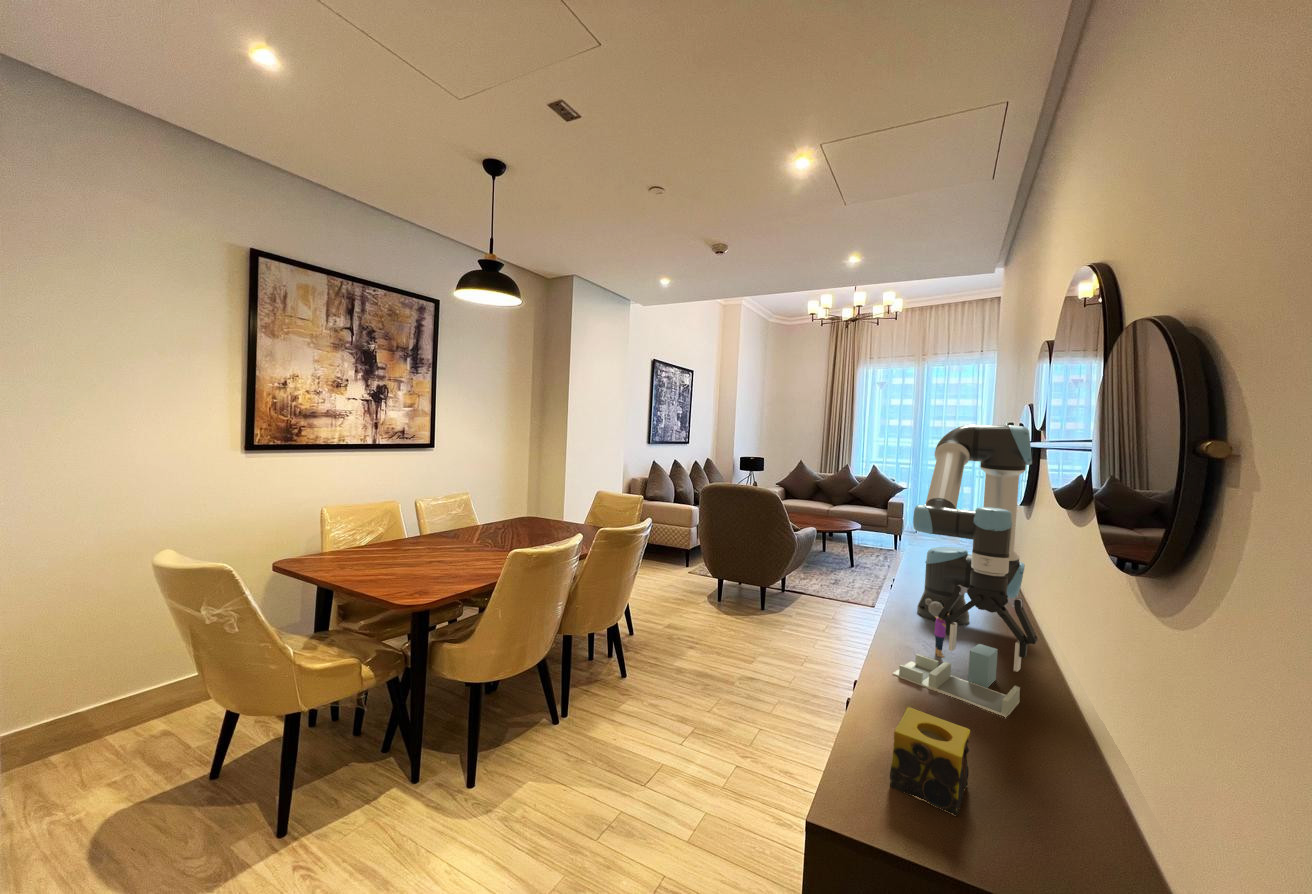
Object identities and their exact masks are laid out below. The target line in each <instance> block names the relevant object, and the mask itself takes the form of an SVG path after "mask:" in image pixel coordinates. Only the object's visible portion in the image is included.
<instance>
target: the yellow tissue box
mask: <svg viewBox="0 0 1312 894" xmlns="http://www.w3.org/2000/svg"><path fill="white" fill-rule="evenodd" d="M970 737H971V729H969V728H968V727H964V726H962V725H959V724H956V723H953V722H951V721H948V720H946V719H942V718H939V717H937V716H934V715H931V714H928V713H926V712H923V711H921V710H918V709H915V708H912V707H911V706H907V707H906V709H905V712H904V714H903V716H902V718H901V720H899V722H898V725H897V726H896V727H895V729H894V733H893V739H894V740H893V750H892V759H891V763H890V764H891V765H890V770H889V780H890V782H889V786H890V787H891V788H893V789H895V790H897V791H899V792H900V793H903V792H905V793H904V794H906V793H908V794H911V795H914V796H917V797H919V798H921V799H924V800H926V801H927V802H929V803H930V804H932V805H934V806H936V807H938V808H941V809H943V810H946V811H948V812H950V813H953V814H954V815H957V816H958V815H959V813H960V810H959V808H960V807H961V808H962V805H961V803H963V801H964V799H963V797H964V796H963V792H964V789H965V788H966V786H967V785H968V786H969V783H968V779H969V773H970V772H969V766H968V765H969V764H968V762H969V760H968V754H969V752H970V749H969V745H968V744H969V739H970ZM966 789H967V788H966ZM964 793H965V792H964ZM908 794H907V795H908ZM962 800H963V801H962ZM961 808H960V809H961ZM941 809H940V810H941ZM958 812H959V813H958Z"/></svg>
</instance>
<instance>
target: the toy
mask: <svg viewBox="0 0 1312 894" xmlns="http://www.w3.org/2000/svg"><path fill="white" fill-rule="evenodd" d="M940 602H942V601H941V600H939V602H936V601H934V602H932V600H931V599H929V598H928V599H926V600H925V603H926V604H927V605H929V606H928V609H929V612H930V613H931V614H932V615H933V616H934V617H935V618H936V621H934V622H935V623H934V632H933V635H934V637H935V638H934V639H935V642H934V643H935V645H934V646H935V652H934V654H935V655H936V657H938V656H940V657H939V658H945V655H944V654H943V646H944V641H945V638H946V623H945V621H944V620H943V619H941V618H939V617H938V615H939V613H940V612H941V610H942V609H943V608H944V603H943V602H942V605H941V604H940ZM947 615H949V613H948V614H947ZM942 654H943V655H942Z"/></svg>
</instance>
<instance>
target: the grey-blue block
mask: <svg viewBox="0 0 1312 894" xmlns="http://www.w3.org/2000/svg"><path fill="white" fill-rule="evenodd" d="M998 652H999V651H998V648H995V647H991V646H988V645H986V644H985V645H984V644H981V643H978V644H977V645H975V646H974V647H973V648H971V649H970V650H969V658H968V660H969V661H968V671H967V672H968V673H967V674H968V675H967V681H969V682H972V683H975V684H978V685H980V686H983V687H985V688H988V687H989V686H990V685H991V684H992V683H993V682H994V681H995V680H997V679H996V677H997V663H998ZM995 682H996V681H995ZM995 682H994V683H995ZM994 683H993V684H994ZM993 684H992V685H993ZM990 687H991V686H990ZM990 687H989V688H990ZM989 688H988V689H989Z"/></svg>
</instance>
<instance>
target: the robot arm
mask: <svg viewBox="0 0 1312 894" xmlns="http://www.w3.org/2000/svg"><path fill="white" fill-rule="evenodd" d="M1030 437H1031V436H1030V430H1029V429H1028V428H1027V427H1026V426H1022V425H1012V424H966V425H965V424H964V425H961V426H959V427H957V428H954V429H952V430H950V431H949V432H948V433H946V434H945V435H944V436H943V437H941V439H940V440H939V441H938V443H937V445H936V447H935V450H934V458H935V465H934V469H933V474H932V476H931V477H932V478H931V480H930V485H929V488H928V493H927V497H926V501H925V504H917V505H915V507H914V510H913V517H912V520H913V521H912V522H913V523H912V524H913V525H912V526H913V529H914V530H915V531H916V532H919V533H925V534H929V535H934V536H935V535H938V536H945V537H951V538H952V537H954V538H960V539H966V540H971V541H972V549H971V554H969V552H968V550H967V549H966V548H962V547H961V548H960V547H956V546H955V547H954V546H953V547H952V546H941V547H933V548H930V549H929V550H928V551H927V553H926V559H925V574H924V575H925V576H924V590H923V593H922V595H921V597H920V600H919V601H918V604H917V610H916V612H917V614H918V615H919V616H920V617H922V618H924V619H927V620H930V621H933V622H936V618H935V617H934V616H933V615H932V614H931V613H930V612H929V609H928V606H929V605H927V604H926V603H925V600H926V599H928V598H929V599H931V600H932V602H934V601H936V602H939V600H941V601H942V602H943V603H944V608H943V609H942V610H941V612H940V613H939V615H938V617H939V618H941V619H943V620H944V621H945V623H946V628H945V636H948V637H949V639H948V651H951V652H953V651H954V650H955V649H957V647H956V646H957V636H958V635H957V634H958V626H963V625H964V624H965V625H968V624H969V623H970V614H969V613H970V612H969V610H971V609H973V608H974V607H976V608H977V609H978V610H980V611H987V612H988V613H996V614H997V615H998V617H1000V618H1001V619H1002V621H1004V623H1005V624H1006V626H1007V628H1008V629H1009V630H1010V631H1011V632H1012V633H1013V635H1014V637H1015V638H1016V639H1017V641H1016V642H1015V645H1014V657H1013V658H1014V659H1013V670H1012V671H1013V672H1019V671H1020V670H1021V666H1022V665H1021V664H1022V659H1025V658H1026V657H1027V656H1028V645H1029V644H1030V645H1035V644H1036V643H1037V642H1038V641H1039V638H1038V636H1037V633H1036V631H1035V629H1034V628H1033V625H1032V623H1031V621H1030V619H1029V617H1028V615H1027V613H1026V610H1025V608H1024V600H1023V598H1021V597H1018V596H1019V592H1020V590H1021V586H1022V582H1023V578H1024V573H1025V563H1024V562H1022V561H1020V556H1019V554H1018V553H1017V552H1015V538H1016V528H1017V527H1016V523H1017V512H1018V511H1017V509H1018V497H1019V494H1018V493H1019V483H1020V475H1022V474H1024V472H1025V471H1026V469H1027V468H1026V467H1027V466H1030V465H1033V458H1032V448H1031V447H1032V445H1031V438H1030ZM970 461H971V462H979V463H980V466H979V468H980V469H981V470H982V472H984V473H985V476H984V477H985V479H984V480H985V481H984V493H983V506H979V507H977V508H976V509H975V510H970V509H969V510H968V509H961V508H960V509H959V508H957V506H958V501H959V496H960V490H961V485H962V480H963V474H964V470H965V469H964V468H965V466H966V465H967V464H968V463H969V462H970ZM966 593H967V595H968V598H969V599H970V601H968V602H966V600H965V595H966ZM1016 597H1018V598H1016ZM942 602H940V604H941V605H942ZM1007 604H1010V605H1011V608H1014V611H1015V613H1016V616H1017V618H1018V620H1019V623H1020V625H1021V627H1022V628H1023V629H1022V628H1020V626H1019V624H1018V623H1017V622H1016V620H1015V619H1014V618H1013V617H1012V615H1011V614H1010V612H1009V610H1008V609H1007V607H1006V605H1007ZM948 613H949V615H947V614H948ZM1023 630H1024V631H1023Z"/></svg>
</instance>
